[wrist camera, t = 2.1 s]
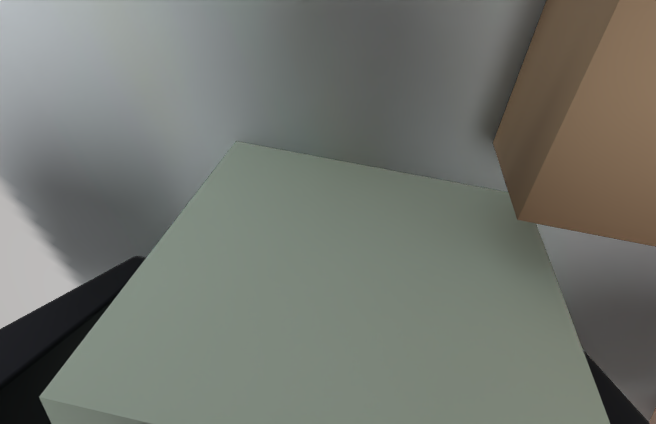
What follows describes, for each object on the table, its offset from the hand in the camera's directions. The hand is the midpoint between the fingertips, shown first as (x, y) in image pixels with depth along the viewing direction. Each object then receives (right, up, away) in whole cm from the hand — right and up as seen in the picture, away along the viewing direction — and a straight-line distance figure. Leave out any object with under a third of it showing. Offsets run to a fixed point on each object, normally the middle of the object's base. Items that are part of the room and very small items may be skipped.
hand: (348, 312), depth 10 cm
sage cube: (0, +1, +1) cm, 1 cm away
